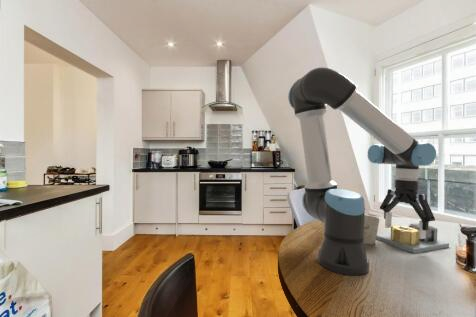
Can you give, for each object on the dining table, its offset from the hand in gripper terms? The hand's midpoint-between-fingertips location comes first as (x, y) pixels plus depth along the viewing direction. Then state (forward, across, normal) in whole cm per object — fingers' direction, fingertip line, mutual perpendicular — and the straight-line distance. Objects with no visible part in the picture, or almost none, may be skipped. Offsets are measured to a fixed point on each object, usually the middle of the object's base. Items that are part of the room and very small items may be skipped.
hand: (403, 232), depth 96 cm
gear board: (+5, +1, -6) cm, 7 cm away
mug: (+5, +8, +14) cm, 17 cm away
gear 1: (+3, 0, 0) cm, 3 cm away
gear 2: (+3, 0, -11) cm, 11 cm away
